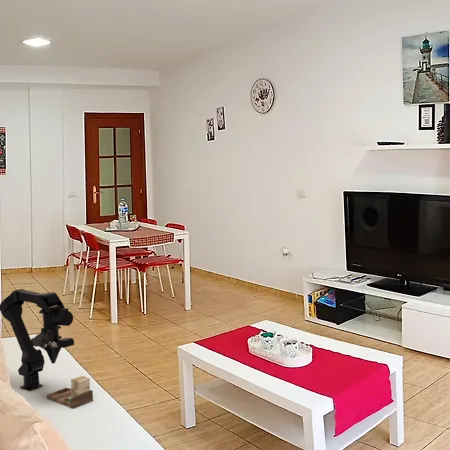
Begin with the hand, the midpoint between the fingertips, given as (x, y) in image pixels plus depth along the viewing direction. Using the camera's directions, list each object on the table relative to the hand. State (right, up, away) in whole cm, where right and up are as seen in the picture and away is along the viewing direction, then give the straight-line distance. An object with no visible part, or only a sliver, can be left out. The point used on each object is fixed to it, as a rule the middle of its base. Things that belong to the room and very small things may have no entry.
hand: (53, 363), depth 232 cm
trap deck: (+8, -13, -4) cm, 16 cm away
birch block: (+12, -12, -5) cm, 18 cm away
